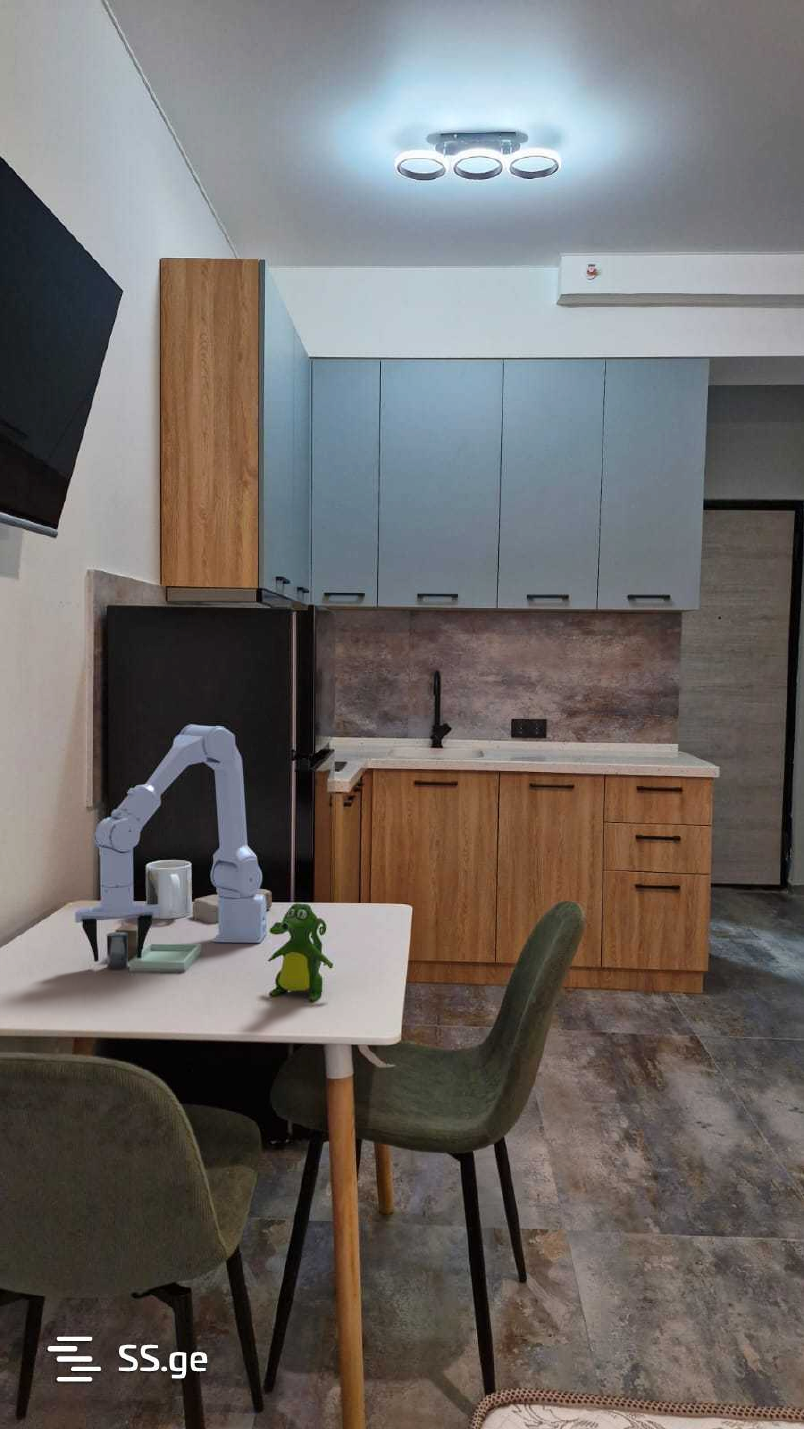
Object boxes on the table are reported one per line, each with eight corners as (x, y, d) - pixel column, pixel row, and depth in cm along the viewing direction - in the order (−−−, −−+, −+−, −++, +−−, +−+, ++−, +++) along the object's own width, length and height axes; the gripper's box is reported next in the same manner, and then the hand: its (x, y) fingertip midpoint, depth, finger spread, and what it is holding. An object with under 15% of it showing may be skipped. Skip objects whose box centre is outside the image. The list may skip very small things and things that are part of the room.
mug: (202, 909, 226) (201, 861, 226) (178, 923, 214) (177, 871, 214) (159, 907, 228) (158, 859, 228) (133, 920, 217) (132, 869, 216)
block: (143, 953, 192) (143, 924, 192) (136, 959, 188) (136, 930, 188) (122, 953, 192) (122, 924, 192) (115, 959, 188) (115, 930, 188)
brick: (214, 924, 214) (214, 903, 214) (190, 918, 220) (190, 896, 219) (273, 911, 226) (273, 890, 226) (249, 905, 232) (249, 885, 232)
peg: (130, 964, 185) (130, 932, 184) (124, 970, 181) (123, 937, 181) (111, 964, 185) (110, 931, 185) (104, 969, 181) (103, 937, 181)
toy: (242, 1006, 162) (241, 913, 161) (295, 972, 180) (295, 889, 179) (308, 1015, 158) (308, 920, 157) (355, 979, 176) (355, 894, 175)
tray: (201, 953, 192) (201, 943, 192) (184, 972, 180) (184, 962, 180) (149, 952, 192) (149, 943, 192) (129, 971, 180) (129, 961, 180)
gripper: (156, 877, 188) (157, 949, 189) (75, 882, 184) (76, 955, 185) (159, 885, 181) (159, 959, 182) (74, 890, 177) (75, 966, 178)
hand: (117, 958), depth 183 cm, fingers open, 7 cm apart
